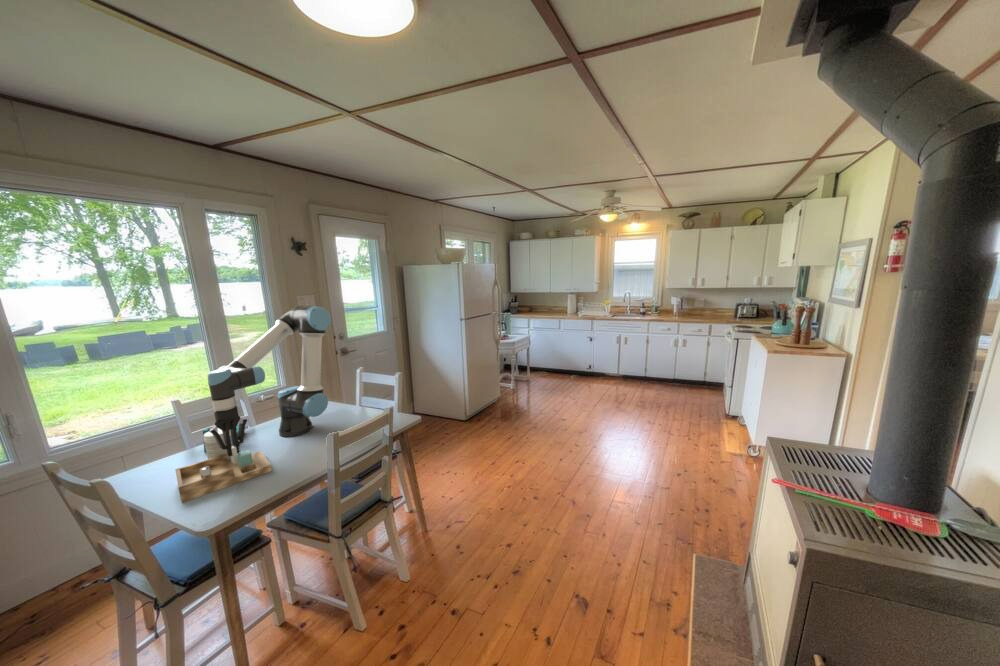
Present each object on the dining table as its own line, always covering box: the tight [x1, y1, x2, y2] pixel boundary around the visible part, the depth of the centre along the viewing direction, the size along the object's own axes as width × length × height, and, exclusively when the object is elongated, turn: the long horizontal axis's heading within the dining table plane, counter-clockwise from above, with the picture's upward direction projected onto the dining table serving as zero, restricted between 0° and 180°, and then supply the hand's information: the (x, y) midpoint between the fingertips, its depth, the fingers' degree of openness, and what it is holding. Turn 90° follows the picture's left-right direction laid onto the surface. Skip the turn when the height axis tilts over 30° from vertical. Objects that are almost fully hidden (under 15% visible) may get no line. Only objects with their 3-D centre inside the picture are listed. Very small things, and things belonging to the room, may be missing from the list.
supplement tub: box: [203, 428, 234, 461], centre depth 153 cm, size 10×10×15 cm
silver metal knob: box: [200, 466, 211, 478], centre depth 135 cm, size 3×3×6 cm
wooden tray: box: [175, 450, 272, 504], centre depth 143 cm, size 28×18×6 cm, turn 135°
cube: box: [237, 449, 253, 467], centre depth 148 cm, size 4×4×4 cm
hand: (235, 461), depth 148 cm, fingers closed
